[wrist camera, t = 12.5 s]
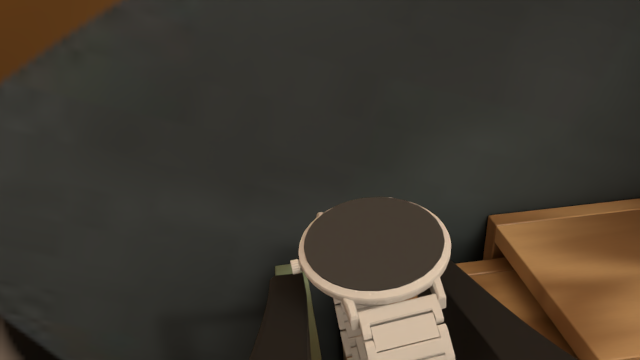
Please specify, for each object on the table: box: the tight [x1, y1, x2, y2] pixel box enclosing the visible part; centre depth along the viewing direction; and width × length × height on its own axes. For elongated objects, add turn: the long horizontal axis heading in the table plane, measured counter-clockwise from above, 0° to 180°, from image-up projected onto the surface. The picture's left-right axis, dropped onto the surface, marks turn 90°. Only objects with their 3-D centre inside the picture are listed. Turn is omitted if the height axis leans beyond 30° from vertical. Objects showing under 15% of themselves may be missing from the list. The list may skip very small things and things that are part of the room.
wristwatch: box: [290, 197, 455, 360], centre depth 11 cm, size 3×5×5 cm, turn 8°
